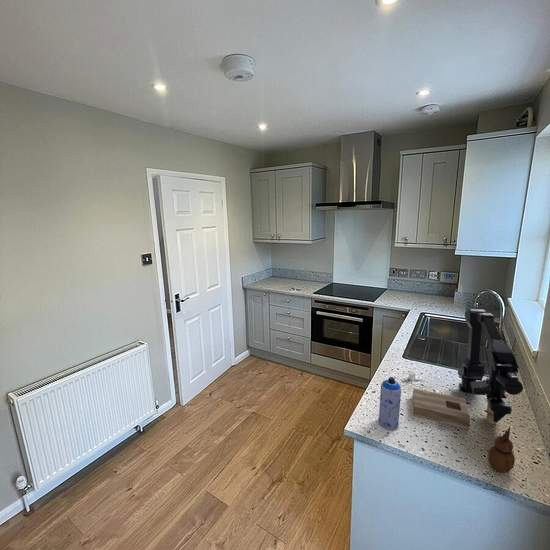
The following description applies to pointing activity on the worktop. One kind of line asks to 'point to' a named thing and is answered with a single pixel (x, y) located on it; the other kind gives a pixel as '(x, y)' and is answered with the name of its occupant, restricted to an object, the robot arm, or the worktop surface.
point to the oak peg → (490, 414)
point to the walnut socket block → (440, 408)
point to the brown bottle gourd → (502, 454)
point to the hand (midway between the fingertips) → (492, 414)
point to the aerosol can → (389, 404)
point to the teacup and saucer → (414, 377)
